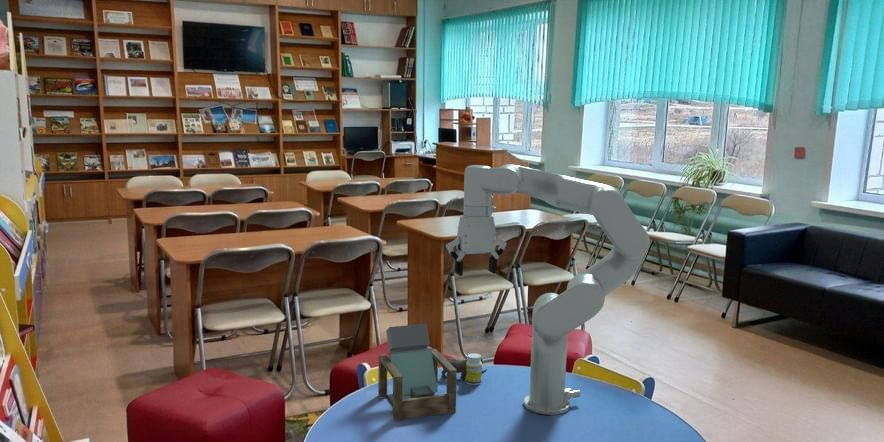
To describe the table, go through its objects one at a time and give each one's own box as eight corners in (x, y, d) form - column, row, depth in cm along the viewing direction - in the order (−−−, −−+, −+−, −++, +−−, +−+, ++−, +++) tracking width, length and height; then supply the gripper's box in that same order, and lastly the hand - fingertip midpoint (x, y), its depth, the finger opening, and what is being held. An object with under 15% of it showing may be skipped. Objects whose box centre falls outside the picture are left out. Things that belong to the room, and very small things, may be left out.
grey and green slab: (425, 327, 199) (429, 323, 196) (436, 392, 192) (440, 390, 189) (383, 331, 195) (386, 327, 192) (393, 398, 188) (396, 395, 185)
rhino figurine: (486, 382, 205) (486, 363, 204) (440, 379, 207) (440, 360, 206) (486, 376, 209) (487, 358, 208) (442, 374, 211) (442, 355, 210)
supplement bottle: (467, 378, 208) (468, 351, 206) (482, 380, 207) (483, 353, 205) (464, 384, 203) (464, 357, 202) (479, 386, 202) (480, 359, 201)
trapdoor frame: (435, 388, 200) (435, 348, 198) (455, 412, 184) (456, 370, 182) (378, 395, 194) (378, 354, 193) (394, 421, 179) (395, 377, 177)
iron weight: (427, 385, 188) (433, 392, 183) (427, 402, 189) (433, 410, 184) (410, 387, 186) (415, 395, 181) (410, 405, 187) (415, 412, 182)
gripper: (501, 208, 191) (499, 268, 193) (442, 210, 185) (441, 272, 188) (512, 212, 184) (510, 274, 186) (452, 214, 178) (450, 278, 181)
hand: (475, 273), depth 187 cm, fingers open, 9 cm apart
